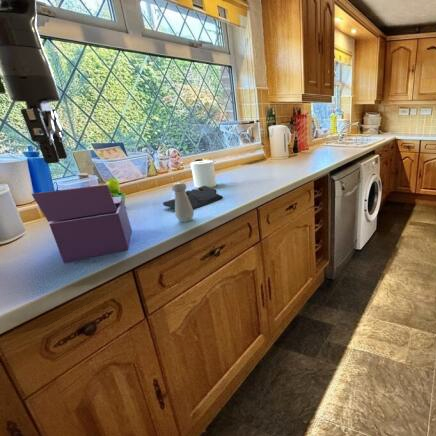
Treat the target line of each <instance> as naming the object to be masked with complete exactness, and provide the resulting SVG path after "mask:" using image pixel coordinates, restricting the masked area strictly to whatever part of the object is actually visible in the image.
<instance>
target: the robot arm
mask: <svg viewBox="0 0 436 436" xmlns="http://www.w3.org/2000/svg"><path fill="white" fill-rule="evenodd" d="M0 75H1V77H2V80H3V83H4V86H5V89H6V91H7V94H8V97H9V99H10V100H11V101H13V102H15V103H16V102H17V103H18V102H19V103H20V102H21V103H25V106H26V108H20V112H21V115H22V117H23V120H24V122H25V125H26V127H27V130H28V133H29V136H30V139H31V141H32V142H33V143H35V144H37V145H39V149H40V152H41V155H42V157H43V161H44V162H45V164H49V165H50V164H59V162H60V160H65V159H67V158H68V154H67V151H66V148H65V145H64V142H63V141H64V138H65V134H64V131H63V127H62V124H61V121H60V117H59V112H58V111H57V109H52V106H51V105H50V102H51V103H52V102H59V101H61V95H60V93H59V92H60V91H59V89H58V86H57V83H56V79H55V76H54V72H53V70H52V66H51V64H50V62H49V59H48V57H47V55H46V53H45V50H44V46H43V42H42V40H41V36H40V34H39V31H38V28H37V0H0Z"/></svg>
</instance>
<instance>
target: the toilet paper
mask: <svg viewBox="0 0 436 436" xmlns="http://www.w3.org/2000/svg"><path fill="white" fill-rule="evenodd" d="M190 169H191V174H192V179H193V186H194V188H195V187H197V188H196V189H198V188H200V187H202V186H207V187H210V188H213V187H216V186H217V185H218V184H217V178H216V172H215V166H214V161H213V160H197V161H196V160H195V161H192V162H190Z"/></svg>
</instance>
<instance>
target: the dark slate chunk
mask: <svg viewBox="0 0 436 436" xmlns="http://www.w3.org/2000/svg"><path fill="white" fill-rule="evenodd" d="M185 192H186V194H187V196H188V199H189V201H190V204H191V206H192V209H193V210H196V209H198V208H200V207H203V206H204V207H205V206H206V205H210V204H211V203H214V202H217V201H219V200H221V199H223V198H224V196H223V195H220V194H219V193H218V191H217V189H215V188H213V187H207V186H202V187H200V188H193V189H190V190H189V189H188V190H185ZM209 203H210V204H209ZM162 205H163V206H164V207H167V208H173V209H175V198H173V199H169V200H166V201H163V202H162Z"/></svg>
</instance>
